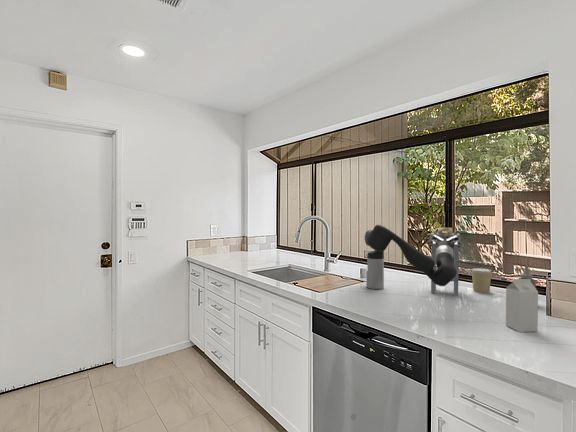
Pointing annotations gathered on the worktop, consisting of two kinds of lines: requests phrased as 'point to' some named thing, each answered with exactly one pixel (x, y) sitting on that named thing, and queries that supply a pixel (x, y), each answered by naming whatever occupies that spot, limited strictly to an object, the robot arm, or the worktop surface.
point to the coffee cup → (481, 280)
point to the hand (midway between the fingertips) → (445, 232)
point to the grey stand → (456, 263)
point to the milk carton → (522, 306)
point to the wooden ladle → (444, 231)
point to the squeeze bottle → (527, 276)
